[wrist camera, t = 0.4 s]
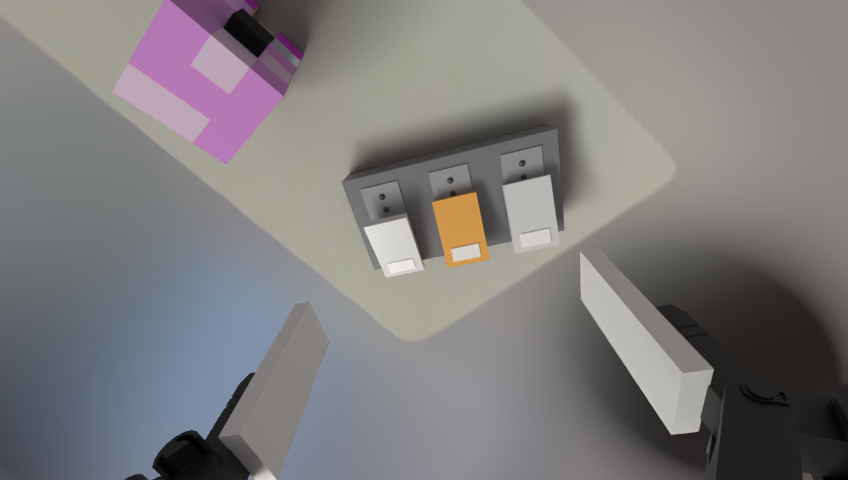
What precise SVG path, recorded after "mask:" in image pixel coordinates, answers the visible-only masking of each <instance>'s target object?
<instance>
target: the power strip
mask: <svg viewBox="0 0 848 480" xmlns="http://www.w3.org/2000/svg"><path fill="white" fill-rule="evenodd" d="M546 174H549V175H550V177H551V184H552V191H553V198H554V205H555V213H556V220H557V227H558V232H559V231H563V230H564V218H563V203H562V188H561V173H560V158H559V143H558V129H557V128H555V127H552V126H550V125H543V126H539V127H535V128H531V129H527V130H523V131H519V132H515V133H511V134H507V135H503V136H499V137H495V138H491V139H487V140H483V141H479V142H475V143H471V144H467V145H463V146H459V147H455V148H451V149H447V150H443V151H439V152H435V153H431V154H427V155H423V156H419V157H415V158H411V159H407V160H403V161H399V162H395V163H392V164H388V165H384V166H380V167H376V168H372V169H368V170H364V171H360V172H356V173H352V174H349V175H348V176H347V177H346V178H345V179H344V180H343V182H342V184H343V187H344V190H345V192H346V195H347V198H348V200H349V203H350V206H351V208H352V211H353V214H354V216H355V219H356V222H357V224H358V227H359V230H360V232H361V235H362V238H363V240H364V243H365V246H366V248H367V251H368V254H369V256H370V259H371V262H372V264H373V267H374V270H377V269H381V265H380V263H379V261H378V259H377V257H376V254H375V252H374V250H373V248H372V245H371V243H370V241H369V239H368V237H367V234H366V232H365V230H364V228H363V227H364V222H369V221H373V220H378V219H382V218H386V217H391V216H395V215H399V214H404V213H407V215H408V218H409V221H410V224H411V227H412V230H413V233H414V236H415V239H416V242H417V245H418V248H419V251H420V254H421V257H422V260H424V259H429V258H434V257H439V256H444V251H443V247H442V243H441V238H440V234H439V230H438V226H437V222H436V217H435V213H434V209H433V205H432V201H434V200H438V199H443V198H447V197H451V196H456V195H460V194H464V193H469V192H473V191H476V194H477V199H478V204H479V209H480V214H481V219H482V224H483V229H484V234H485V239H486V244H487V246H492V245H496V244H501V243H506V242H511V241H512V238H511V233H510V227H509V222H508V216H507V211H506V205H505V199H504V194H503V188H502V185H503V184H507V183H512V182H516V181H520V180H525V179H529V178H533V177H538V176H542V175H546Z"/></svg>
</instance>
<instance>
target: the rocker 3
mask: <svg viewBox="0 0 848 480" xmlns="http://www.w3.org/2000/svg"><path fill="white" fill-rule="evenodd" d="M502 188H503V194H504V199H505V205H506V211H507V216H508V222H509V227H510V233H511V238H512V244H513V250H514V252H515V254H518V253H523V252H528V251H533V250H538V249H542V248H547V247H552V246H557V245H560V241H559V234H558V227H557V220H556V213H555V205H554V198H553V191H552V184H551V177H550V175H549V174H546V175H542V176H538V177H533V178H529V179H525V180H520V181H516V182H512V183H507V184H503V185H502Z"/></svg>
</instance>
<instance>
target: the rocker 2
mask: <svg viewBox="0 0 848 480" xmlns="http://www.w3.org/2000/svg"><path fill="white" fill-rule="evenodd" d="M432 205H433V209H434V213H435V217H436V222H437V226H438V230H439V234H440V238H441V243H442V247H443V251H444V255H445V259H446V264H447V268H449V267H454V266H459V265H464V264H469V263H474V262H479V261H483V260H488V259H489V254H488V249H487V244H486V239H485V234H484V229H483V224H482V219H481V214H480V209H479V204H478V199H477V194H476V191H473V192H469V193H464V194H460V195H456V196H451V197H447V198H443V199H438V200H434V201H432Z"/></svg>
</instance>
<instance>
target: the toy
mask: <svg viewBox="0 0 848 480" xmlns="http://www.w3.org/2000/svg"><path fill="white" fill-rule="evenodd" d="M259 7H260V6H259V5H258V4H257V3H256V2H255V1H254V0H164V2H163V3H162V5H161V7H160V9H159V10H158V12H157V14H156V16H155V17H154V19H153V21H152V22H151V24H150V26H149V28H148V29H147V31H146V33H145V35H144V36H143V38H142V40H141V41H140V43H139V45H138V47H137V48H136V50H135V52H134V54H133V55H132V57H131V59H130V60H129V62H128V64H127V66H126V67H125V69H124V71H123V73H122V74H121V76H120V78H119V80H118V81H117V83H116V85H115V86H114V88H113V90H112V92H113V93H115V94H116V95H118V96H119V97H121V98H122V99H124V100H126V101H127V102H129V103H130V104H132V105H134V106H135V107H137V108H138V109H140V110H141V111H143V112H145V113H146V114H148V115H149V116H151V117H152V118H154V119H156V120H157V121H159V122H160V123H162V124H163V125H165V126H167V127H168V128H170V129H171V130H173V131H175V132H176V133H178V134H179V135H181V136H182V137H184V138H186V139H187V140H189V141H190V142H192V143H193V144H195V145H197V146H198V147H200V148H201V149H203V150H205V151H206V152H208V153H209V154H211V155H212V156H214V157H216V158H217V159H219V160H220V161H222V162H223V163H225V164H227V163H228V162H229V161H230V159H231V158H232V157H233V156H234V155H235V153H236V152H237V151H238V150H239V149H240V147H241V146H242V145H243V144H244V143H245V142H246V140H247V139H248V138H249V137H250V136H251V134H252V133H253V132H254V131H255V130H256V128H257V127H258V126H259V125H260V124H261V122H262V121H263V120H264V119H265V118H266V116H267V115H268V114H269V113H270V112H271V110H272V109H273V108H274V107H275V106H276V105H277V103H278V102H279V101H280V100H281V99H282V97H283V96H284V94H285V92H286V90H287V88H288V86H289V84H290V82H291V80H292V78H293V75H294V73H295V71H296V69H297V67H296V66H297V65H298V63H299V62H300V61H301V59H302V57H303V54H302V53H301V52H300V51H299V50H298V49H297V48H296V47H295V46H294V45H293V44H292V43H291V42H290V41H289V40H288V39H287V38H286V37H285V36H284V35H283V34H282V33H280V34H279V35H278V36H277V38H276V39H275V40H274V41H273V39H274V37H273V36H272V35H271V34H270V33H269V32H268V31H266V30H265V29H264V28H263V27H262V26H261V25H260V24H259V23H258V22H257V21H256V20H255V19H254V18H253V15H254V14H255V12H256V11H257V10H258V8H259ZM272 41H273V43H272V44H271V42H272Z"/></svg>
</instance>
